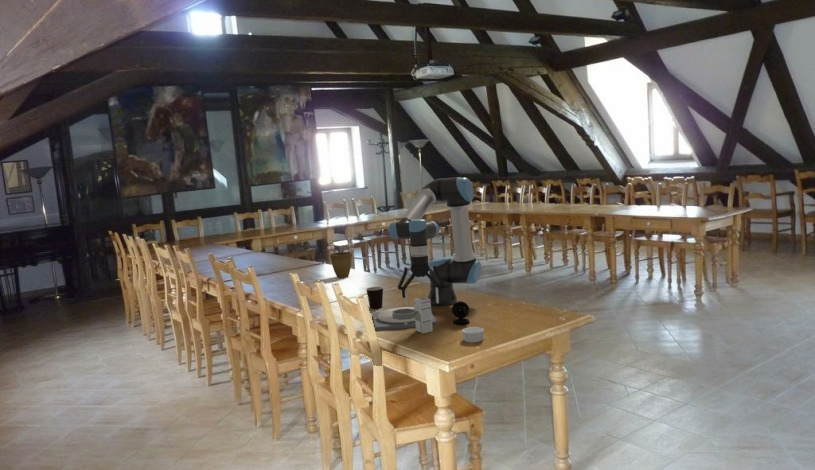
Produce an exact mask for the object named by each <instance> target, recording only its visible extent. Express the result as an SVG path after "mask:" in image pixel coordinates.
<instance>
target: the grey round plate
mask: <svg viewBox="0 0 815 470" xmlns="http://www.w3.org/2000/svg"><path fill="white" fill-rule="evenodd" d="M379 312H380V313H378V320H380V321H382V322H386V323H409V322H415V315H414V306H412V307H411V306H404V307H394V308H389V309H385V310H382V311H379Z"/></svg>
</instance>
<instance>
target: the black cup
mask: <svg viewBox="0 0 815 470" xmlns="http://www.w3.org/2000/svg"><path fill="white" fill-rule="evenodd" d="M366 294H367V299H368V305H369V309H371V310H377V309H378V310H379V309H382V308H383V300H384V297H383V296H384V287H383V286H372V287H370V286H369V287H368V288H366Z"/></svg>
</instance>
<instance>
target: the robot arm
mask: <svg viewBox="0 0 815 470" xmlns="http://www.w3.org/2000/svg"><path fill="white" fill-rule="evenodd" d="M474 192H475V191H474V186H473V184H472V181H471V180H470V179H469V178H467V177H446V178H442V177H441V178H435V179H433V180H432V181H430V182H428V183H426V184H425V185H424V186H423V187H422V188H421V189H420V190H419V192H418V194H417V198H416V199H415V200H414V201H413V203H412V204H411V205H410V206H409V208H408V209H407V210H406V212H404V214H403V215H402V216H401V218H400V219H399V220H398V221H394V222H393V221H392V222H390V224H389V226H388V234H389V237H390V238H391V239H395V240H396V239H398V240H406V239H407V240H409V251H410V253H409V254H410V267H407V266H404V267H403V273H402V276H401V278H400V280H399V282H398V285H397V289H398V290H399V291H400V290H401V296H402V298H403V299H404V305H405V307H409V305H408V304H409V303H408V292H407V291H408V290H407V288H408V287H409V285H410V284H411V282H412V281H413V280H414V278H424V277H426V276H427V278H428V279H429V285H430V287H429V288H430V289H429V292H428V297H427V298H428V299H430V302H431V306H436V307H437V306H440V307H441V306H443V307H444V306H449V305H454V304H455V303H456V302H458V297H457V294H456V291H455V289H454V284H463V285H464V284H467V285H472V284H476V283H477V282H478V281H479V280H480V276H481V271H482V263H481V261H479V260H477V258H476V257H477V256H476V254H474V253H473V247H472V237H471V227H470V225H471V224H470V219H469V218H470V216H469V206H470V205H471V202H472V201H473V200H474V197H475V196H474V194H475V193H474ZM436 203H446V207H447V208H448V209H449V210H450V217H451V226H452V227H451V228H452V235H453V237H452V239H453V246H454V254H455V255H454V256H453V257H450V256H444V257H439V258H435V259H431V260H430V261H429V255H428V254H429V251H428V250H429V249H428V240H430V239H433V238H435V237H436V236H438V235H439V232H440V228H439V227H440V226H439V224H437V222H436V221H432V220H428V221H427V220H426V219H423V217H424V215H426V213H427V211H429V209H430V208H431V207H433V206H434V205H435V204H436ZM410 272H411V275H410V276H409V278H408V279H407V281H405V280H406V277H407V274H409V273H410ZM404 282H405V283H404Z"/></svg>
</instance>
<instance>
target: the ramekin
mask: <svg viewBox="0 0 815 470" xmlns="http://www.w3.org/2000/svg"><path fill="white" fill-rule="evenodd" d="M484 330H485V329H484V328H482V327H480V326H470V327H464V328H462V329H461V332H462V338H463V341H464V342H466V343H472V344H473V343H479V342H482V341H483V340H484Z"/></svg>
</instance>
